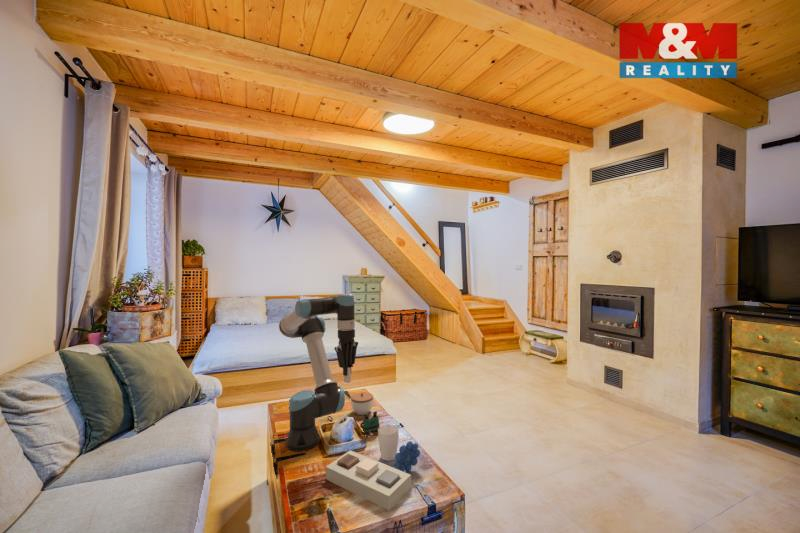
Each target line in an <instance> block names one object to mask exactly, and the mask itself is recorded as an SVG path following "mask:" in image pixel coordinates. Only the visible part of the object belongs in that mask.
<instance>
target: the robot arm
mask: <svg viewBox="0 0 800 533" xmlns="http://www.w3.org/2000/svg"><path fill="white" fill-rule="evenodd" d="M355 304H356V303H355V296H354V295H353V293H338V294H337V295H335V296H329V297H319V298H309V299H308V298H307V299H305V298H304V299H299V300H297V301H295V304H294V305H295V306H294V310H293V311H292V312H291V313H290V314H289V315H285V316H284V317H283V318H281V320H280V321H279V324H278V330H279V332H280V333H281V334H282V335H283V336H285V337H286V338H290V339H295V338H301V341H302V343H303V342H304V343H305V345H306V349H307V353H308V356H309V361H310V365H311V369H312V374H313V377H314V381H315V388H314V390H312V389H311V390H310V389H308V390H300V391H299V392H297V393H295V394H292V395H291V397H290V399H289V403H288V404H289V405H288V410H289V411H288V414H289V431H288V435H287V438H286V441H285V442H286V444H285V445H286V449H288V450H289V451H292V452H305V451H308V450H312V449H313V448H315V447H317V446H318V445H319V444H320V434H319V431H318V428H317V426H316V419H318V418H321V417H325V416H329V415H332V414H335V413H339V412H342V410H343V409H344V407H345V403H346V402H345V401H346V395H345V391H344V388H343V387H342V386H340V385H338V382H337V381H335V380H334V379H333V378H334V377H333V375H332V370H331V368H330V364H329V363H330V362H329V361H328V356H327V353H326V349H325V345H324V341H323V337H324V335H325V332H326V329H327V328H326V321H325V320H324V317H323V315H331V314H336V315H337V316H336V317H337V319H336V320H337V338H338V345H337V346H335V347H334V349H333V350H335V353H336V356H337V362H338V367H339V368H342V374H343V382H344V383H347V384H349V383H351V382H352V368H353V367H354V365H355V364H356V355H357V350H358V349H357V348H358V346H359V342H358V341H355V339H354V338H356V329H355Z"/></svg>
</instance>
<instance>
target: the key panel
mask: <svg viewBox="0 0 800 533" xmlns="http://www.w3.org/2000/svg"><path fill="white" fill-rule="evenodd" d="M347 454H350V455H352V456H355V457H357V458H359V463H360V462H362V461H363V460H364V459H366V458H367V459H370V460H372V461H375V462H377V463H378V471H377V472H376V473H375V474H374V475H372V476H371V477H370V478H369V479H368V478H366V477H364V476H362V475H359V474H357V473H356V465H358V464H359V463H357V464H356V465H355V466H353V467H352V468H350V469H349V470H348V469H346V468H344V467H341V466H339V465H338V460H339V459H341V458H342V457H344V456H345V455H347ZM385 470H389V471H391V472H394V473H396V474H399V477H400V480H399V481H398V482H397V483H395V484H394V485H393V486H392V487H391V488H388V487H386V486H384V485H382V484H379V483H377V477H378V476H379V475H381V474H382V473H383V472H384V471H385ZM325 480H326V481H329V482H331V483H333V484H335V485H337V486H338V487H341V488H343V489H345V490H347V491H349V492H350V493H353V494H355V495H357V496H359V497H361V498H363V499H365V500H367V501H369V502H371V503H373V504H375V505H377V506H379V507H381V508H383V509H385V510H387V511H391V510H392V508H393V507H395V505H396V504H397V503H398V502H399V501H400V500H401V499H402V498H404V496H405V495H406V494H407V493H408V492H409V491H410V490H411V489H412V475H411V474H410V473H409V472H406V471H404V472H403V471H400V470H398V469H395V467H394V466H390V465H388V464H385V463H383V462H380V461H378V460H375V459H373V458H371V457H369V456H366V455H363V454H360V453H358V452H356V451H354V450H348V451H347V452H345V453H344V454H343V455H341V456H340V457H337V459H335V460H334V461H331V463H329V464H328V465H326V466H325Z"/></svg>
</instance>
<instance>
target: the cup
mask: <svg viewBox="0 0 800 533" xmlns="http://www.w3.org/2000/svg"><path fill="white" fill-rule="evenodd" d="M399 436H400V435H399V427H397V426H396V425H393V424H385V425H381V426H379V429H378V435H377V438H378V439H377V440H378V445H379V446H378V447H379V451H380V458H381V459H382V460H384V461H388V462H390V461H395V455H396V454H397V453H398V446H399Z"/></svg>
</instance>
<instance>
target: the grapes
mask: <svg viewBox="0 0 800 533" xmlns="http://www.w3.org/2000/svg"><path fill="white" fill-rule="evenodd" d="M420 455H421V452H420V450H419V444H418V443H417V442H415V443H413V442H412V441H408V442H406V444H405V445H404V444H403V445H400V447H399V452H397V454H396V455H395V459H394V461H395V462H394V464H393V468H395V469H398V470H400V471H403V472H405V473H409V472H411V471H412V467H415V466H416V465H417V464H418V457H420Z"/></svg>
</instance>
